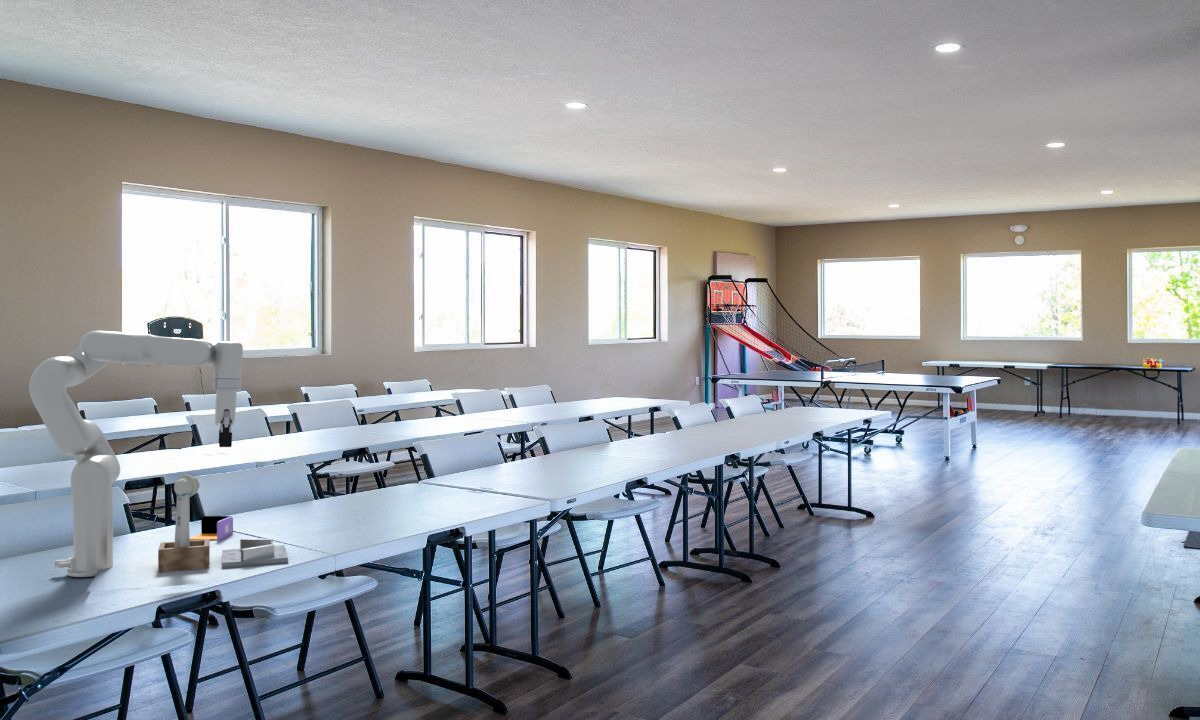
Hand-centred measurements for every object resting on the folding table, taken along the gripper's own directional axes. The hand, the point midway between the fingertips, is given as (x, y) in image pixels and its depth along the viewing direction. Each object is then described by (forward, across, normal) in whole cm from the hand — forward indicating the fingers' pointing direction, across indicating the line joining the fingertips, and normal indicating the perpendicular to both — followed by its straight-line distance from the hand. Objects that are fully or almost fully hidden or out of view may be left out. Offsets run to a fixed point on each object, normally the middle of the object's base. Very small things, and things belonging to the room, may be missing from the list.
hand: (224, 445), depth 256 cm
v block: (+32, +2, +9) cm, 33 cm away
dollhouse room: (+33, -34, -2) cm, 47 cm away
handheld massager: (+33, +4, -9) cm, 34 cm away
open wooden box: (+33, +4, -9) cm, 34 cm away
